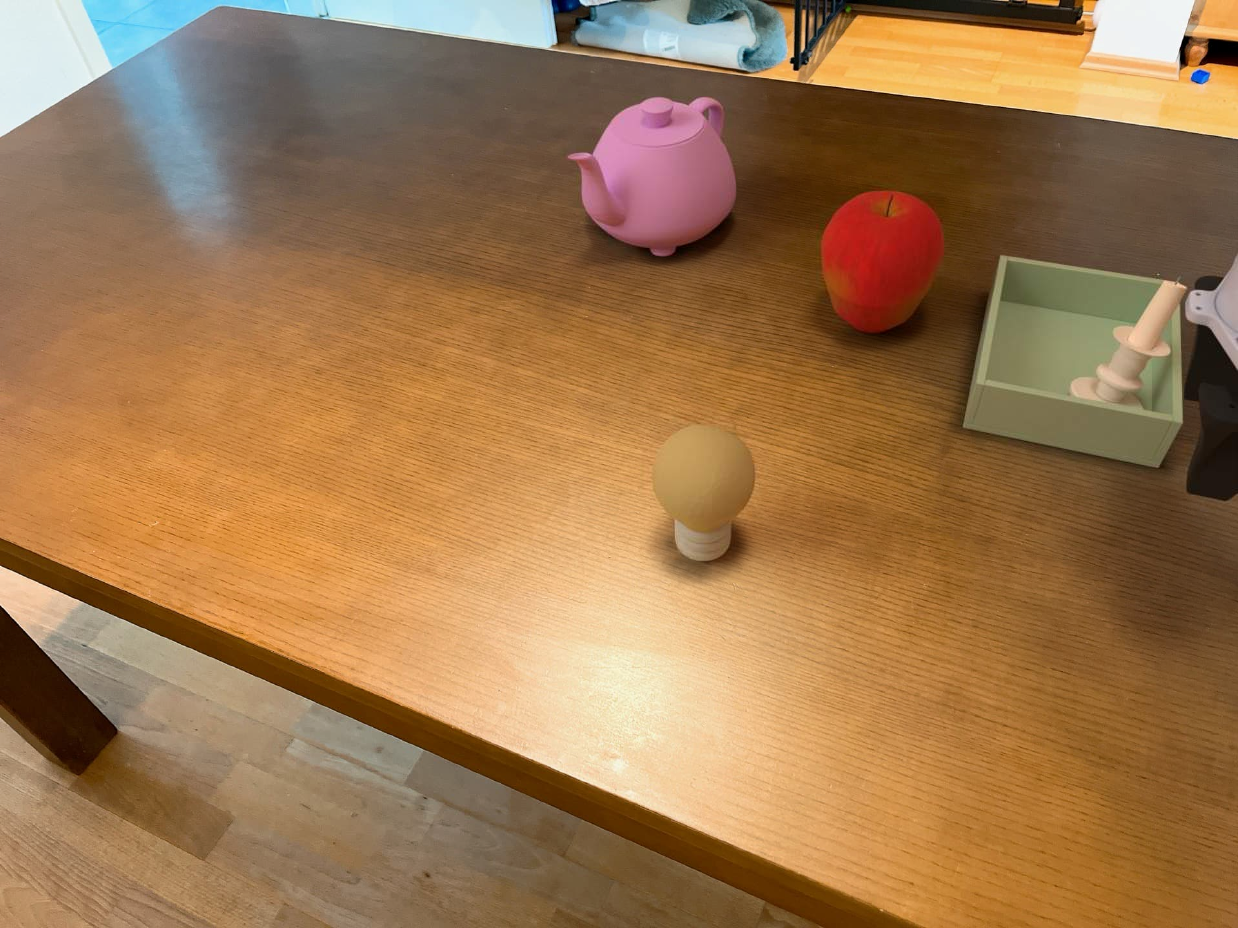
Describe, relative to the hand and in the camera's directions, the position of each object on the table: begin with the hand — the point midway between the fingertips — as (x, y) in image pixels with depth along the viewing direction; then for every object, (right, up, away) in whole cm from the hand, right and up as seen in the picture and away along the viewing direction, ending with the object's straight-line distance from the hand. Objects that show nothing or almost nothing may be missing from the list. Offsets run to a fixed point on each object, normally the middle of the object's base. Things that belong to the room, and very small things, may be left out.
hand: (1204, 444), depth 52 cm
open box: (+2, +6, +19) cm, 20 cm away
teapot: (-30, +21, +37) cm, 52 cm away
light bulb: (-27, -7, +11) cm, 30 cm away
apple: (-12, +11, +26) cm, 30 cm away
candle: (+2, +3, +16) cm, 16 cm away
